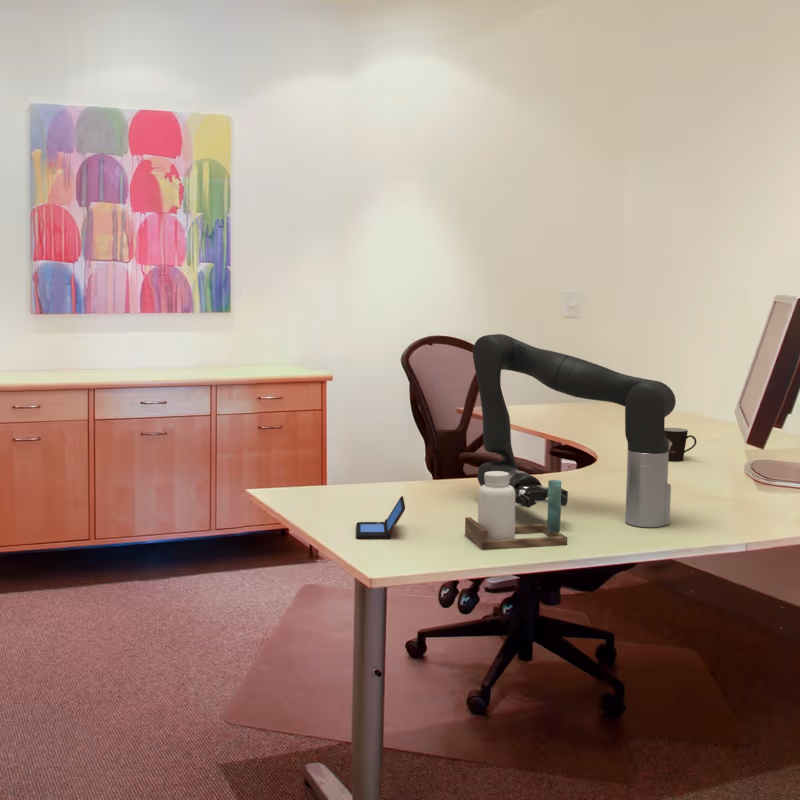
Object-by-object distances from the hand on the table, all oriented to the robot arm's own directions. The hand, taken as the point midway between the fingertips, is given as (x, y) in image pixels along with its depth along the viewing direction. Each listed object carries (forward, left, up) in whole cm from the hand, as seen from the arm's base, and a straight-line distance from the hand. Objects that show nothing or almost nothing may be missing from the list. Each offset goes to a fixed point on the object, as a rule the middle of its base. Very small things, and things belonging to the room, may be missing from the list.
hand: (547, 502), depth 210 cm
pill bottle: (+14, +5, -7) cm, 16 cm away
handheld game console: (+36, -8, -7) cm, 38 cm away
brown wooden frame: (+9, +5, -7) cm, 12 cm away
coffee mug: (-76, -78, -7) cm, 110 cm away
